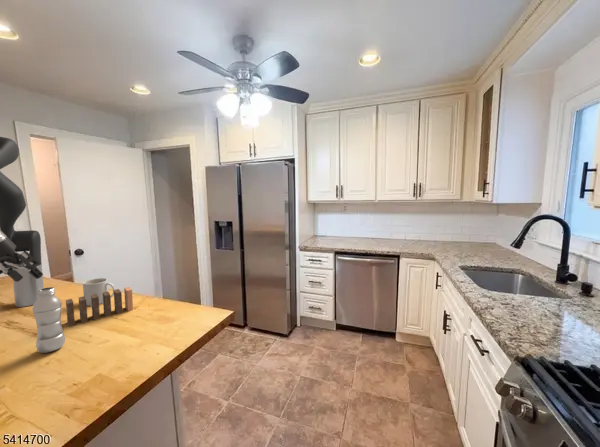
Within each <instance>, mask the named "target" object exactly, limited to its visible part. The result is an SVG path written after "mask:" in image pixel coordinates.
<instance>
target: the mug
mask: <svg viewBox="0 0 600 447" xmlns="http://www.w3.org/2000/svg"><path fill="white" fill-rule="evenodd" d="M109 286H110V287H111V288H112V294H110V298H114V290H117V289H116V287H115V284H113V283H112V282H108V278H105V277H99V278H92V279H89V280H86V281H85V280H84V281H83V282H82V291H83V293H82V294H83V296H85V298H86V304H87V307H88V306H90V307H92V304H91V295H92V294H97V295H98V297H99V305H103V292H107V291H108V292H109Z"/></svg>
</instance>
